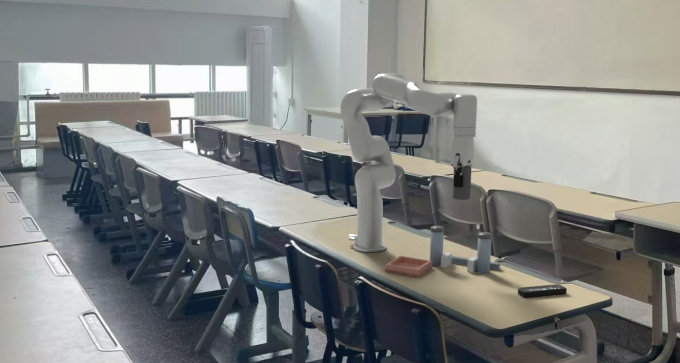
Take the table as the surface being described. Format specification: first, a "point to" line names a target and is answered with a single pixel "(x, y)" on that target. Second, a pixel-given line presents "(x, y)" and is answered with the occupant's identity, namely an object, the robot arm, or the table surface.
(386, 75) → the robot arm
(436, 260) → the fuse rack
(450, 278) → the table surface
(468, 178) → the bottle
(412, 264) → the tray
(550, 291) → the multiport hub
